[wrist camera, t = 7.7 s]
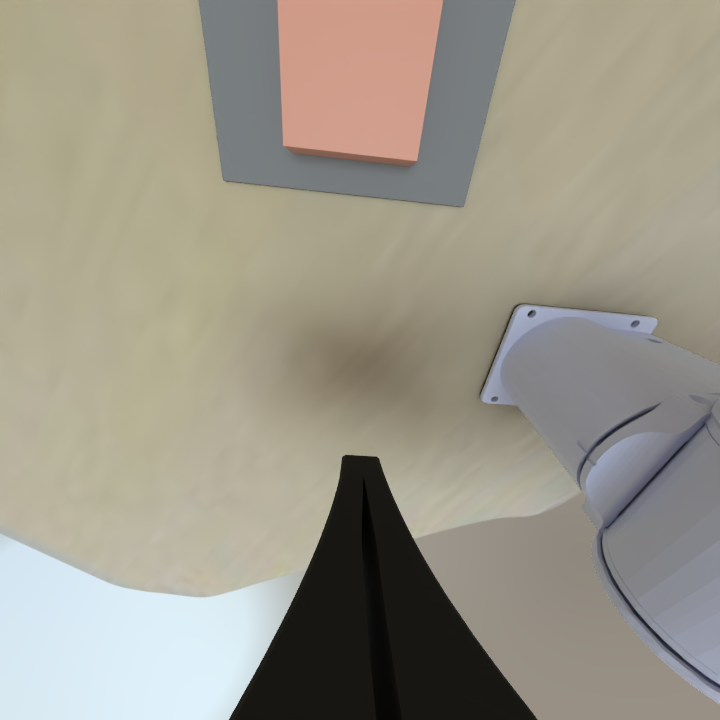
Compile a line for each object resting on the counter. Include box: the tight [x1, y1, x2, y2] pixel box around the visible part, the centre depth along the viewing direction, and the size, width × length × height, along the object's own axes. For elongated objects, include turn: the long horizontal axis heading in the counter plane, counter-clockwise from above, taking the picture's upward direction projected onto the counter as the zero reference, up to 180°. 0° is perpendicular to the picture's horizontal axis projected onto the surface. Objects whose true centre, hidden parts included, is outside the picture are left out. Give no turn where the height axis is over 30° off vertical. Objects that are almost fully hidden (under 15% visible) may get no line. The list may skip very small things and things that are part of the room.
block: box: [277, 0, 443, 167], centre depth 11 cm, size 2×9×6 cm
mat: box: [199, 0, 515, 207], centre depth 12 cm, size 13×12×1 cm
